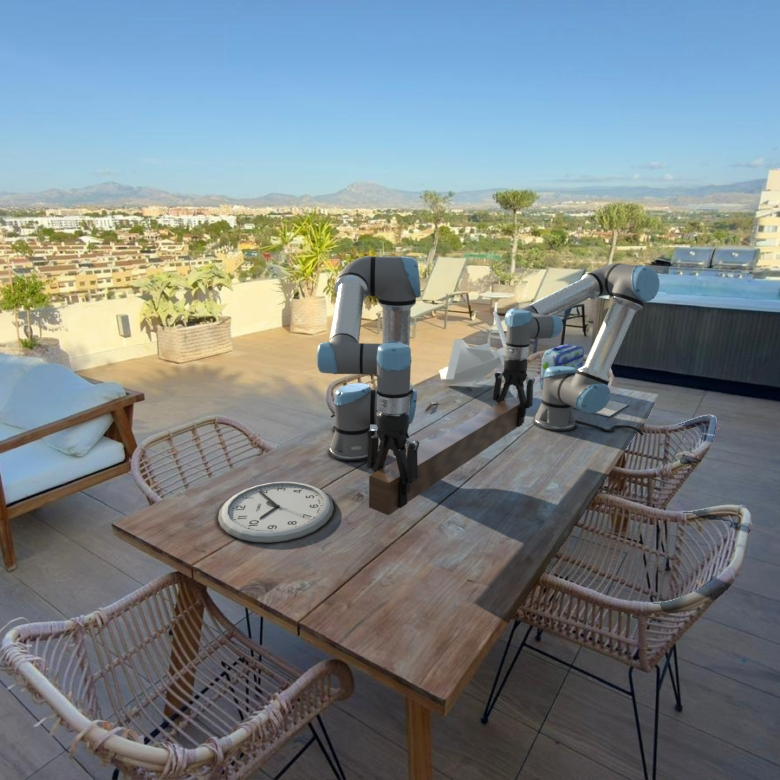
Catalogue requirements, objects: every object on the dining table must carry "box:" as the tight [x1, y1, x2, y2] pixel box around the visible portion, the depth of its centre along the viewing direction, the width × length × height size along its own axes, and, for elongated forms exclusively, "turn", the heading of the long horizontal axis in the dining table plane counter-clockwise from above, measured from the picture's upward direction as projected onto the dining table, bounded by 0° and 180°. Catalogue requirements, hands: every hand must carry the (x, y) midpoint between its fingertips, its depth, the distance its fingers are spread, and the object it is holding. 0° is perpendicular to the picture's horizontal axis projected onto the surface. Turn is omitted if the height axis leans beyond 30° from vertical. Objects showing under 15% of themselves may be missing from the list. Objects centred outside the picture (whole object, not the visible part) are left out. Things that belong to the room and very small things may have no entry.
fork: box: [425, 396, 439, 412], centre depth 222 cm, size 3×16×2 cm, turn 160°
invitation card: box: [595, 399, 629, 418], centre depth 226 cm, size 21×1×15 cm
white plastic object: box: [438, 310, 527, 398], centre depth 245 cm, size 37×45×31 cm
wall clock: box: [217, 481, 335, 544], centre depth 139 cm, size 30×2×30 cm
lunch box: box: [539, 344, 585, 391], centre depth 247 cm, size 26×11×21 cm, turn 134°
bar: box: [368, 396, 526, 516], centre depth 152 cm, size 78×6×8 cm, turn 143°
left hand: (391, 500), depth 126 cm, fingers closed on bar, 6 cm apart
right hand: (510, 423), depth 179 cm, fingers closed on bar, 6 cm apart
